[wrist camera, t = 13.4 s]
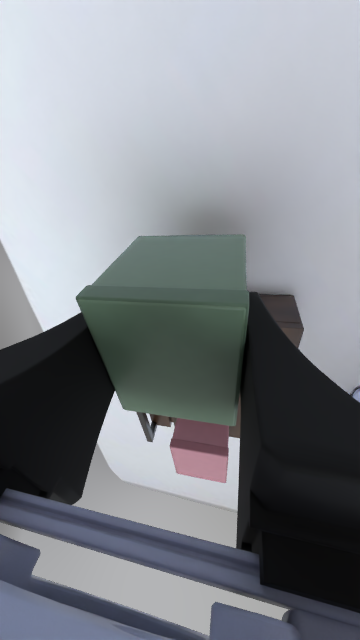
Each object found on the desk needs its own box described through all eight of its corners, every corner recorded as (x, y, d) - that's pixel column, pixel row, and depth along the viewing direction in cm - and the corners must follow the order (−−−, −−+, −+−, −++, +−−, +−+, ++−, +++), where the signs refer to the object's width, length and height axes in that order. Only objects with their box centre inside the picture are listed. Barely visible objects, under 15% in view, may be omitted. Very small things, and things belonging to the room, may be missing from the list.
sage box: (247, 232, 9) (249, 305, 5) (238, 338, 13) (235, 428, 9) (136, 234, 10) (73, 298, 6) (156, 331, 14) (122, 411, 10)
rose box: (230, 399, 22) (228, 457, 18) (228, 429, 25) (226, 483, 21) (181, 393, 23) (169, 447, 19) (186, 423, 26) (176, 473, 22)
